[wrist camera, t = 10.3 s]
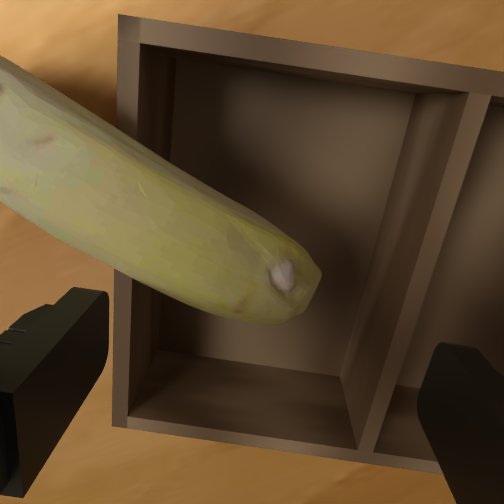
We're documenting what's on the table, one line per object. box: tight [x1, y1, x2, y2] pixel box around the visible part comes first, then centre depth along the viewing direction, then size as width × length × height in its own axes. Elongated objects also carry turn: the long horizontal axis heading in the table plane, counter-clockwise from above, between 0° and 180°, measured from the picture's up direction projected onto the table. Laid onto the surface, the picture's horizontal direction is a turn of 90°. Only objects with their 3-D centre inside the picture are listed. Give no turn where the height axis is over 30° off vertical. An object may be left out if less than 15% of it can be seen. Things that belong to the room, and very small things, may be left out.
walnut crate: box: [112, 14, 504, 475], centre depth 15 cm, size 20×14×5 cm
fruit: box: [0, 56, 322, 324], centre depth 12 cm, size 7×15×3 cm
